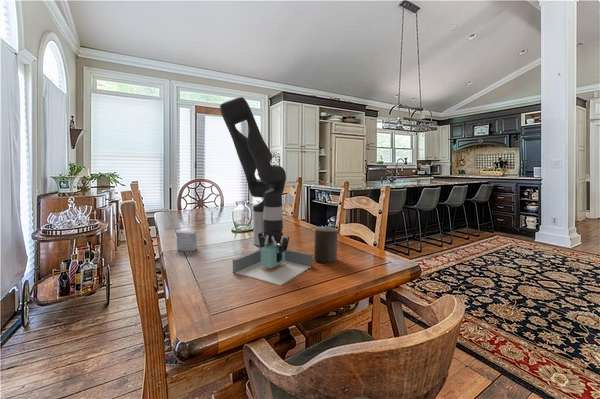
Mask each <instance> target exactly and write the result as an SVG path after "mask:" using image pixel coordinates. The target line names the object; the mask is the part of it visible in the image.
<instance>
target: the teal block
mask: <svg viewBox="0 0 600 399" xmlns="http://www.w3.org/2000/svg"><path fill="white" fill-rule="evenodd" d="M277 244H278V243H277ZM260 249H261V266H264V267H268V268H273V267H275V266H277V265H279V264H281V263H283V262H285V251H284V252H282V260H281V261H280V262H277V251H276V248H275V247H274V244H271V245H268V246H265V247H262V248H261V247H260Z"/></svg>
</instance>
